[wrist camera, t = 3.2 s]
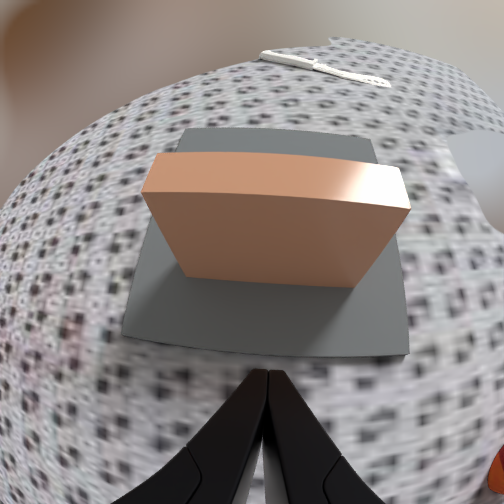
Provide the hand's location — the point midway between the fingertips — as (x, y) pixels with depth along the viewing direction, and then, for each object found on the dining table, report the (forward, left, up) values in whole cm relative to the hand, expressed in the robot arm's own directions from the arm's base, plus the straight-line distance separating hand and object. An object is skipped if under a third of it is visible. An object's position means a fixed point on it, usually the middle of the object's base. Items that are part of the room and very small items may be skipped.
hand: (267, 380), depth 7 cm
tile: (+3, +8, -12) cm, 15 cm away
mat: (+5, +13, -12) cm, 19 cm away
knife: (+29, +41, -13) cm, 52 cm away
